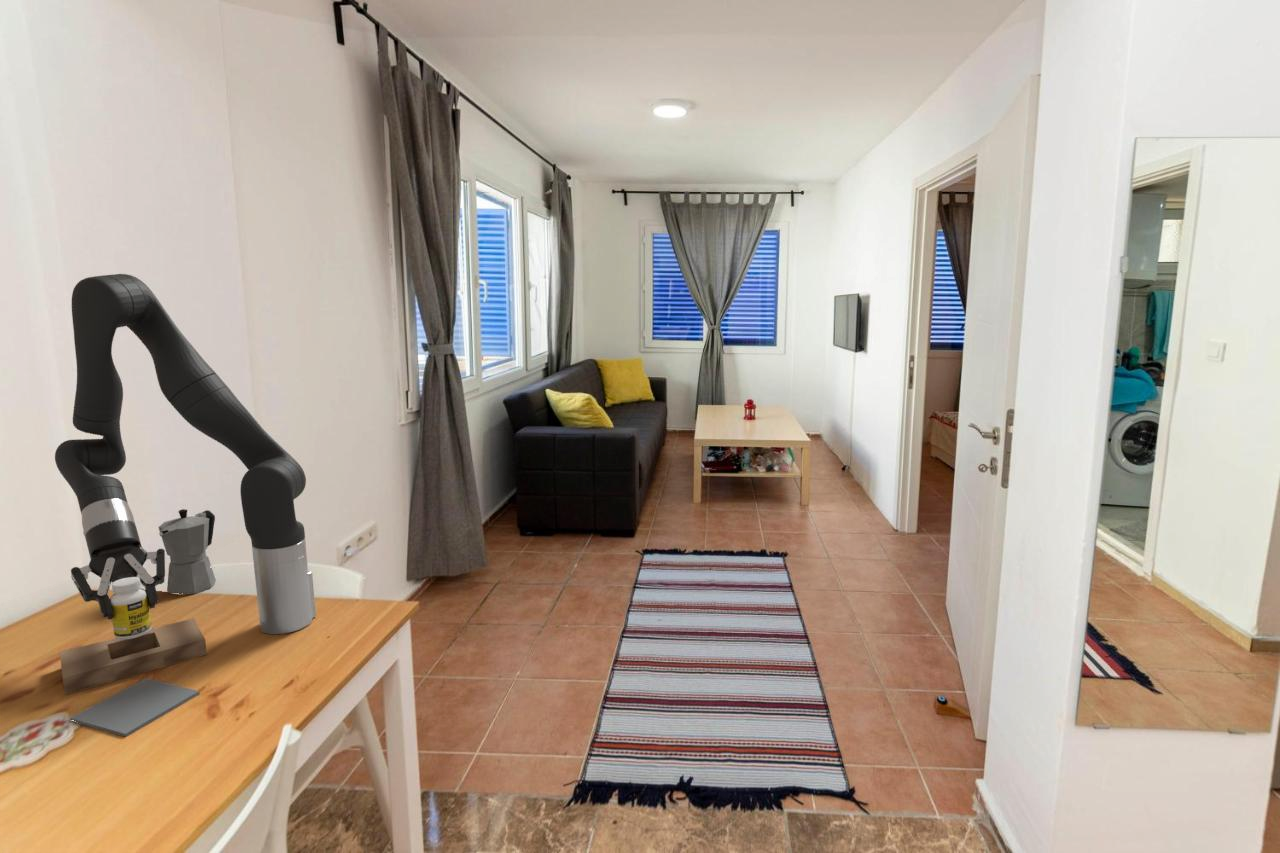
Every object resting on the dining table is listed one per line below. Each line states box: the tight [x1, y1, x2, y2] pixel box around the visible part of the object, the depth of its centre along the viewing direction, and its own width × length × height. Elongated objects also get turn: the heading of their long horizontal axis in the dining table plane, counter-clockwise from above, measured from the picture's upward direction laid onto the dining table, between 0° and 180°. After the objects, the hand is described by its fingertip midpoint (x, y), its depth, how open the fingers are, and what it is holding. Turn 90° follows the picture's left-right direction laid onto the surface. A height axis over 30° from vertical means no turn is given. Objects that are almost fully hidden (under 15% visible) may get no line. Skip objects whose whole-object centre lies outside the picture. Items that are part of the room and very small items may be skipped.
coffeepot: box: [158, 508, 217, 595], centre depth 155 cm, size 15×9×18 cm, turn 174°
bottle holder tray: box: [59, 617, 208, 696], centre depth 124 cm, size 20×11×3 cm, turn 131°
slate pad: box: [69, 677, 201, 737], centre depth 111 cm, size 12×12×1 cm
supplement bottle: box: [109, 577, 153, 639], centre depth 123 cm, size 5×5×10 cm
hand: (132, 611), depth 122 cm, fingers closed on supplement bottle, 5 cm apart
